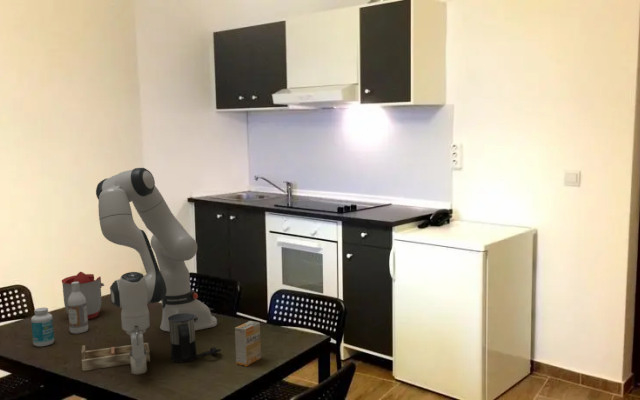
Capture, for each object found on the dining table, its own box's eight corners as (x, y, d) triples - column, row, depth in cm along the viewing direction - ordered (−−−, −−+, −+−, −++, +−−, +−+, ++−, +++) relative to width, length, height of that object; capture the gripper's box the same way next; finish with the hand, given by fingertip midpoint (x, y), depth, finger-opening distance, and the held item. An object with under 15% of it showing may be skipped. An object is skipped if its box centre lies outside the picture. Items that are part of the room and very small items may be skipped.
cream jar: (146, 367, 210) (145, 347, 209) (147, 372, 205) (146, 352, 204) (130, 369, 208) (129, 349, 207) (131, 375, 203) (129, 354, 202)
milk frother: (166, 357, 218) (163, 316, 216) (206, 346, 228) (204, 307, 226) (183, 369, 207) (180, 326, 205) (225, 357, 216) (223, 316, 214)
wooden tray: (148, 352, 223) (147, 336, 222) (150, 361, 215) (149, 344, 214) (83, 361, 216) (82, 344, 216) (82, 370, 208) (81, 353, 207)
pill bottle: (46, 347, 230) (43, 312, 229) (29, 346, 232) (25, 311, 230) (58, 340, 238) (55, 306, 236) (41, 339, 239) (38, 305, 237)
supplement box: (247, 367, 207) (245, 329, 206) (235, 364, 210) (234, 327, 208) (262, 358, 214) (260, 322, 213) (251, 356, 217) (249, 320, 215)
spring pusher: (114, 354, 218) (114, 346, 218) (115, 361, 212) (114, 352, 212) (111, 355, 218) (111, 347, 218) (112, 361, 212) (111, 353, 212)
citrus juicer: (114, 314, 268) (110, 269, 265) (76, 325, 255) (72, 278, 252) (95, 308, 278) (92, 264, 275) (58, 318, 265) (54, 272, 263)
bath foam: (66, 333, 246) (61, 284, 243) (77, 327, 252) (73, 279, 250) (80, 334, 244) (76, 285, 241) (92, 328, 250) (88, 280, 248)
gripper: (147, 330, 195) (150, 372, 197) (144, 312, 215) (146, 350, 217) (126, 333, 194) (129, 375, 195) (125, 314, 213) (127, 352, 215)
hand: (138, 362), depth 206 cm, fingers open, 6 cm apart
